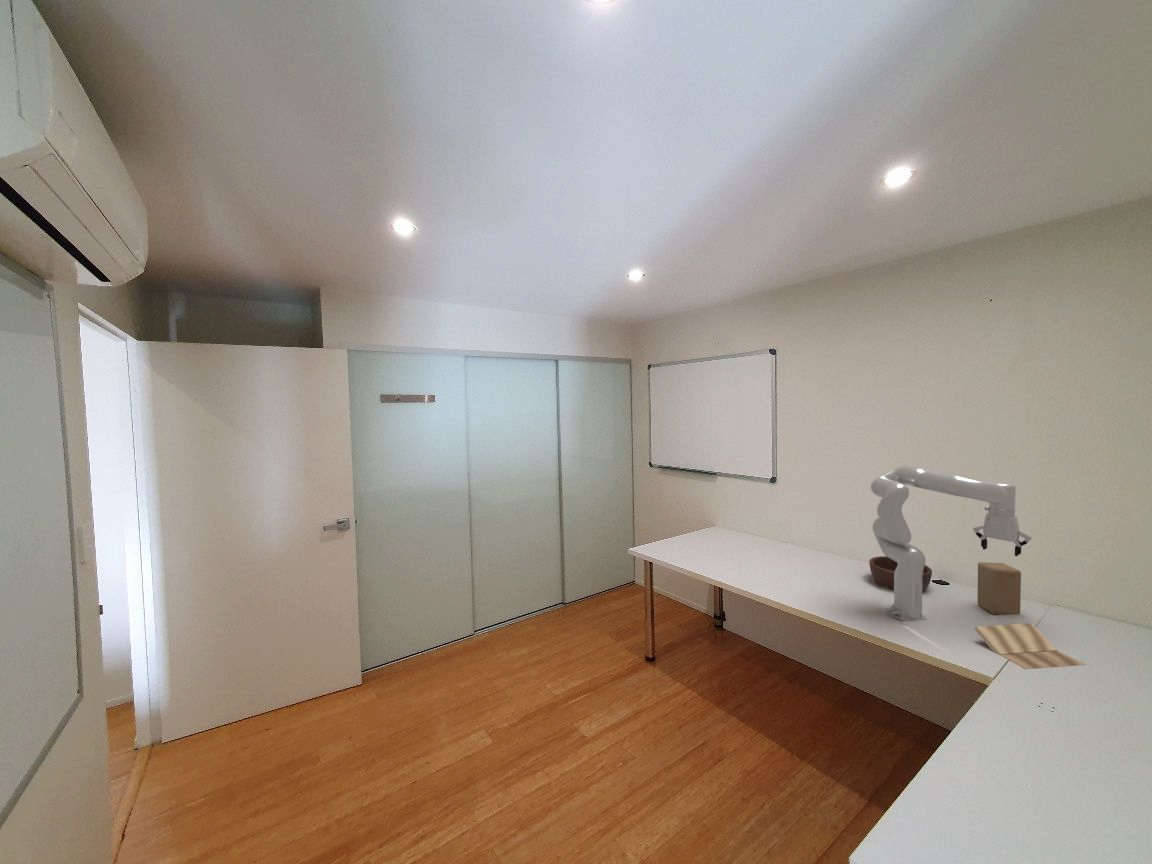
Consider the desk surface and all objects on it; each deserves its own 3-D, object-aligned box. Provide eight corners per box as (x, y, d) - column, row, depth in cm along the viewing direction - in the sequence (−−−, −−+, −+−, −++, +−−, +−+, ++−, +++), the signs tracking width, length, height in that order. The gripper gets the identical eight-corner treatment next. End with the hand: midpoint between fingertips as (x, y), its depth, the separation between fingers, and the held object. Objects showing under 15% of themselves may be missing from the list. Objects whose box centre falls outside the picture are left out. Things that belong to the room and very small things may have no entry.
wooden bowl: (913, 575, 219) (914, 556, 218) (944, 597, 195) (944, 576, 194) (860, 573, 225) (860, 555, 224) (883, 594, 200) (883, 573, 200)
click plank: (996, 655, 149) (999, 654, 148) (974, 628, 157) (976, 626, 156) (1054, 651, 150) (1057, 650, 149) (1029, 624, 158) (1031, 622, 157)
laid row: (1025, 673, 140) (1025, 668, 140) (999, 658, 148) (1000, 654, 148) (1086, 668, 141) (1086, 664, 141) (1058, 654, 149) (1058, 650, 149)
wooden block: (1021, 617, 175) (1022, 571, 173) (993, 615, 177) (994, 570, 175) (1002, 606, 184) (1003, 562, 183) (976, 604, 186) (976, 561, 185)
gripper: (971, 509, 178) (969, 548, 179) (1029, 517, 163) (1027, 560, 164) (976, 506, 182) (975, 544, 183) (1034, 514, 167) (1032, 556, 168)
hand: (1000, 552), depth 174 cm, fingers open, 9 cm apart
